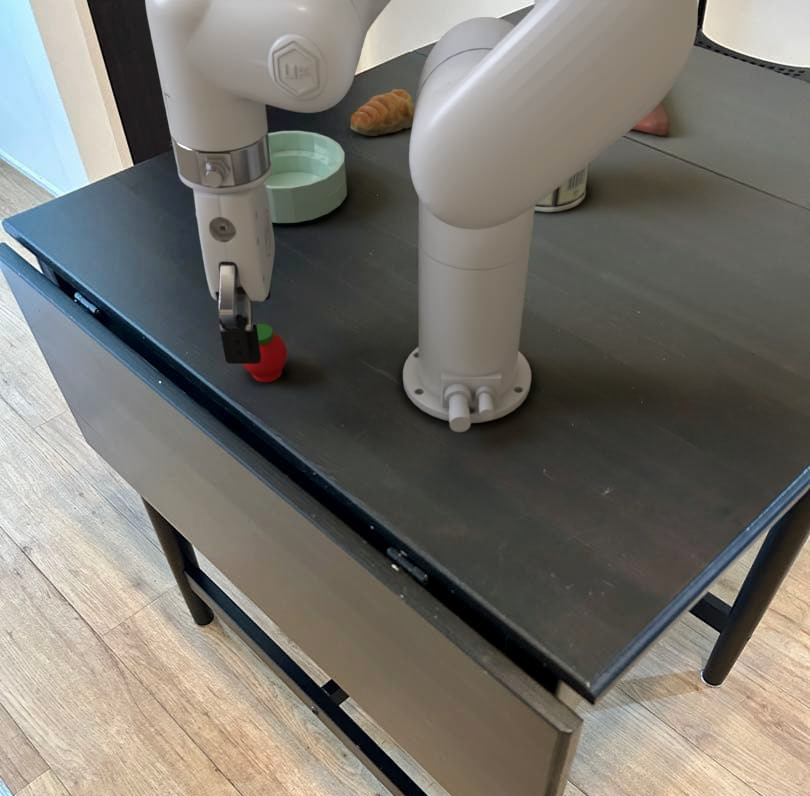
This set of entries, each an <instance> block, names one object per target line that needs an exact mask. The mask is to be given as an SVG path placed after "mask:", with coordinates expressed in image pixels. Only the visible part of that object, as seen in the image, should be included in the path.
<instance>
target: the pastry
mask: <svg viewBox="0 0 810 796" xmlns="http://www.w3.org/2000/svg"><path fill="white" fill-rule="evenodd" d="M414 108H415V103H414V101H413V97H412V96H411V94H410V93H408V91H406V90H405V89H403V88H402V89H401V88H400V89H397V88H393V89H392V91H390V92H386V93H385V92H384V93H382V94H378V95H374V96H372V97H371V98H370V99H369V100H368V101H367V102H366V103H364V104H363V105H362V106H360V107H359V108H358V109H356V110H355V112H354V113H353V114H352V115H351V117H350V130H353V132H355V133H358V134H360V135H364V136H369V137H372V136H373V137H377V136H378V135H379V136H380V135H388V134H391V133H396V132H401V131H402V130H403V129H409V128H412V125H413V119H414Z"/></svg>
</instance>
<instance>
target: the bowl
mask: <svg viewBox="0 0 810 796" xmlns="http://www.w3.org/2000/svg"><path fill="white" fill-rule="evenodd" d="M268 136H269V145H270V155H271V165H272V171H271V174H270V176H269V177H268V178H267V179H266V180H265V181H266V187H267V193H268V200H269V207H270V213H271V220H272V223H275V224H296V223H301V222H306V221H307V222H308V221H313V220H315V219H317V218H321V217H323V216H326V215H327V214H330V213H331V212H332V211H334V210H335V209H337V208H339V207H340V206H341V205H342V203H343V202H344V200H345V199H346V197H347V196H348V179H347V165H346V163H347V162H346V153H345V151H344V149H343V147H342V146H341V144H340V143H338V142H337V141H335V140H334V139H333V138H331V137H329V136H326V135H323V134H320V133H317V132H310V131H303V130H281V131H275V132H268Z"/></svg>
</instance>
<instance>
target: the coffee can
mask: <svg viewBox="0 0 810 796" xmlns="http://www.w3.org/2000/svg"><path fill="white" fill-rule="evenodd" d="M590 163H591V162H590ZM590 163H589V164H587V165H586V166H585V167H584V168H582V169H581V170H580V171H579V172H577V173H576V174H575V175H573V176H572V177H571V178H570V179H568V180H567V181H566V182H565V183H563V184H562V185H561V186H559V187H558V188H557V189H556V190H554V191H553V192H552V193H551V194H549V195H548V196H547V197H545V198H544V199H543V200H541V201H540V202H539V203H537V204H536V205H535V211H534V212H540V213H555V212H562V211H563V212H564V211H567V210H569V209H573V208H574V207H576V206H578V205H579V204H580V203H582V202H583V200H584V199H585V197H586V194H587V190H586V188H587V183H588V176H589V172H590V171H589V170H590Z"/></svg>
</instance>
